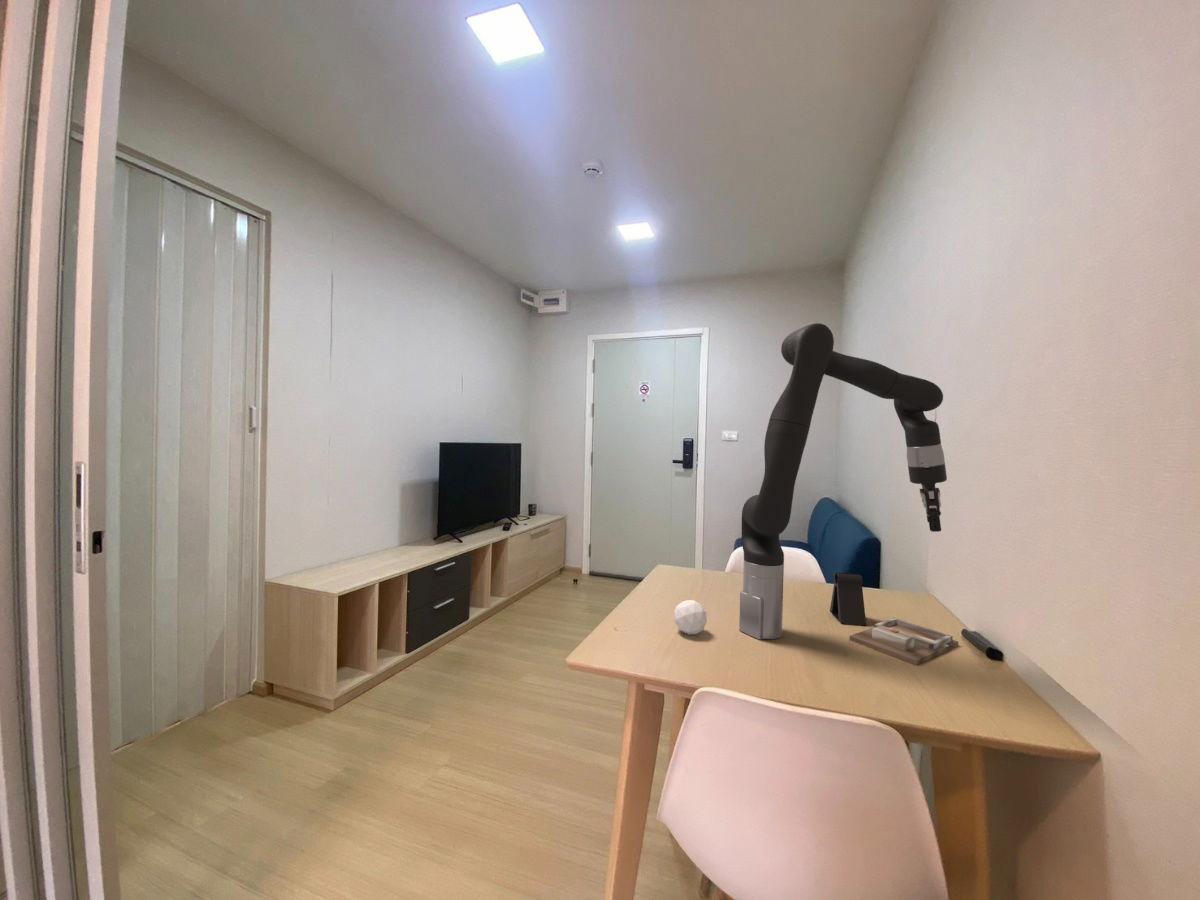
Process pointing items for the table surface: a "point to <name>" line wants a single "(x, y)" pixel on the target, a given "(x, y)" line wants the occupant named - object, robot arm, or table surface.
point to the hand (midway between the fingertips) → (934, 526)
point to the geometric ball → (690, 617)
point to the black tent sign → (848, 599)
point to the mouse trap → (905, 640)
